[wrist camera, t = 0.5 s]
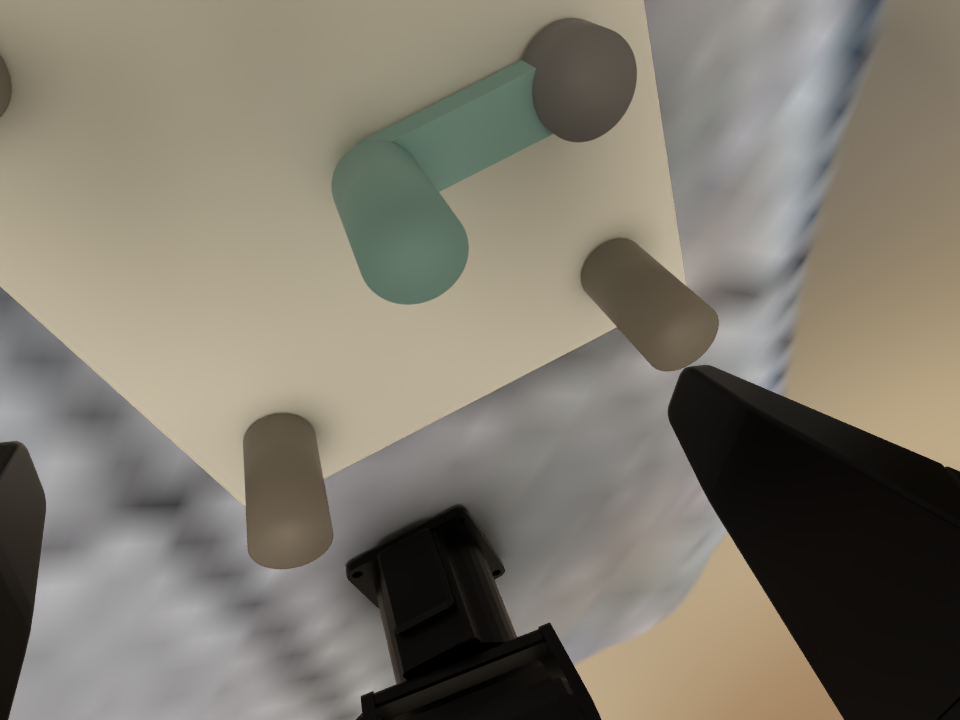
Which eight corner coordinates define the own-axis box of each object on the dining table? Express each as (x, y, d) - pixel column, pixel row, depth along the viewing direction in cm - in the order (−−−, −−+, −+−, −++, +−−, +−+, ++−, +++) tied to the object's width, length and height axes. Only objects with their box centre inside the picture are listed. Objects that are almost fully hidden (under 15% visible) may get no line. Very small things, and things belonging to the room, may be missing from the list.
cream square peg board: (658, 266, 25) (765, 358, 20) (251, 476, 25) (260, 622, 20) (535, -410, 13) (725, -584, 8) (-265, -23, 13) (-569, 35, 8)
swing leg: (600, -2, 16) (715, 33, 12) (619, 100, 18) (725, 157, 14) (305, 146, 16) (332, 227, 12) (355, 234, 18) (392, 328, 14)
